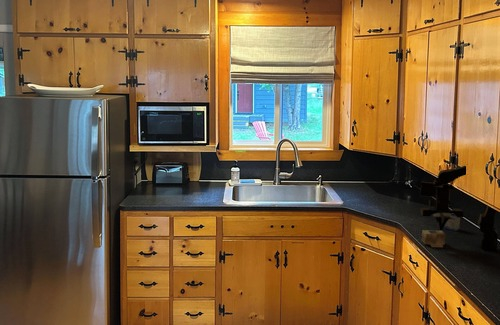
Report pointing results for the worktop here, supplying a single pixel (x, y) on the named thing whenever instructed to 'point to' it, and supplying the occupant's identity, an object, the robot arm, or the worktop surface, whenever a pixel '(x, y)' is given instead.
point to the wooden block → (433, 237)
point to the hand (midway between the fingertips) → (440, 230)
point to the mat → (436, 245)
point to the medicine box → (453, 223)
